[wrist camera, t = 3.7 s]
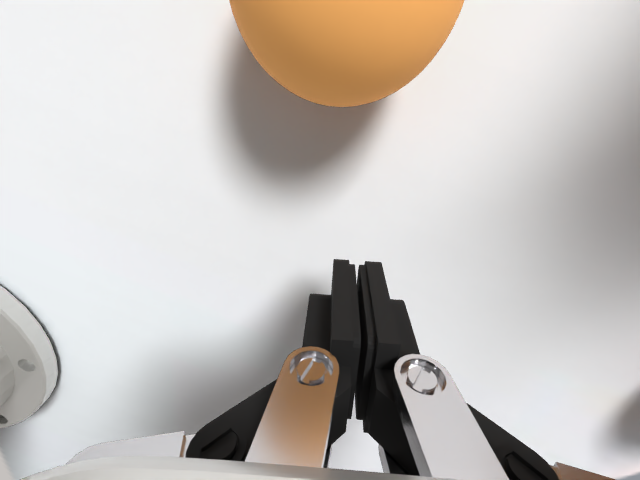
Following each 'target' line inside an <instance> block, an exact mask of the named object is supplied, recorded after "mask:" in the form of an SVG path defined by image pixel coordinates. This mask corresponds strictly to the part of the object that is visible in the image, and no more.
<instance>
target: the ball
mask: <svg viewBox="0 0 640 480" xmlns="http://www.w3.org/2000/svg"><path fill="white" fill-rule="evenodd" d="M229 1H230V5H231V8H232V12H233V15H234V18H235V20H236V23H237V26H238V28H239V31H240V33H241V35H242V37H243V39H244V41H245V43H246V45H247V46H248V48H249V50H250V51H251V53H252V54H253V56H254V57H255V59H256V60H257V61H258V63H259V64H260V65H261V66H262V67H263V69H264V70H265V71H266V72H267V73H268V74H269V75H270V76H271V77H272V78H273V79H274V80H275V81H276V82H278V83H279V84H280V85H282V86H283V87H284V88H286V89H287V90H288V91H290V92H291V93H293V94H295V95H297V96H299V97H301V98H303V99H305V100H308V101H311V102H313V103H316V104H321V105H325V106H333V107H351V106H358V105H363V104H368V103H371V102H374V101H377V100H380V99H382V98H385V97H387V96H388V95H390V94H392V93H394V92H396V91H398V90H399V89H401V88H402V87H404V86H405V85H406V84H408V83H409V82H410V81H412V80H413V79H414V78H415V77H416V76H417V75H418V74H419V73H421V72H422V70H423V69H424V68H425V67H426V66H427V65H428V64H429V63H430V62H431V60H432V59H433V58H434V56H435V55H436V54H437V52H438V51H439V49H440V48H441V47H442V45H443V44H444V43H445V41H446V39H447V37H448V36H449V34H450V32H451V30H452V29H453V27H454V25H455V22H456V20H457V18H458V16H459V13H460V11H461V9H462V6H463V3H464V0H229Z"/></svg>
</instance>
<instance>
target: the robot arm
mask: <svg viewBox="0 0 640 480" xmlns="http://www.w3.org/2000/svg"><path fill="white" fill-rule="evenodd" d="M57 376H58V368H57V359H56V355H55V353H54V350H53V347H52V345H51V342H50V340H49V338H48V336H47V335H46V333H45V332H44V330H43V328H42V327H41V325H40V323H39V322H38V321H37V320H36V319H35V318H34V316H33V315H32V314H31V313H30V312H29V311H28V309H27V308H26V307H25V306H24V305H23V304H22V303H21V302H20V301H18V300H17V299H16V298H15V297H14V296H13V295H12V294H11V293H9V292H8V291H7V290H6V289H5V288H3V287H2V286H0V428H6V427H9V426H12V425H15V424H17V423H20V422H23V421H24V420H26V419H27V418H29V417H30V416H32V415H33V414H34V413H35V412H36V411H37V410H38V409H39V408H40V407H41V406H42V404H43V403H44V402H45V401H46V400H47V399H48V398H49V397H50V395H51V393H52V391H53V390H54V388H55V386H56V381H57ZM354 393H355V406H356V419H358V420H363V430H364V432H365V433H369V435H370V436H371V437H372V438H373V439H374V440H376V441H377V442H378V443H379V446H378V448H379V456H380V460H381V464H382V468H383V472H384V473H378V472H366V471H354V470H342V469H331V468H329V462H330V456H331V449H332V444H333V443H334V442H335V441H336V440H337V439H338V438H339V437H340V436H341V435H343V434H344V433H345V432H346V424H347V419H351V416H352V408H353V401H354ZM20 480H615V479H612V478H609V477H605V476H602V475H599V474H595V473H592V472H589V471H585V470H582V469H579V468H575V467H572V466H568V465H565V464H562V463H558V462H556V463H555V464H554V466H551V465H549V464H548V463H547V462H546V461H545V460H544V459H543V458H542V457H541V456H539V455H538V454H537V453H536V452H535V451H533V450H532V449H530V448H529V447H528V446H526V445H525V444H523V443H522V442H521V441H519V440H518V439H516V438H515V437H514V436H512V435H511V434H509V433H508V432H507V431H505V430H504V429H502V428H501V427H500V426H498V425H497V424H495V423H494V422H493V421H491V420H490V419H488V418H487V417H485V416H484V415H483V414H481V413H480V412H478V411H477V410H476V409H474V408H473V407H471V406H470V405H469V404H467V403H466V402H465V400H464V398H463V397H462V395H461V393H460V391H459V389H458V388H457V386H456V384H455V382H454V381H453V379H452V377H451V375H450V374H449V372H448V371H447V370H446V368H445V367H444V366H443V365H441V364H440V363H439V362H438V361H436V360H434V359H432V358H430V357H427V356H424V355H420V353H419V349H418V346H417V343H416V339H415V336H414V333H413V329H412V326H411V323H410V319H409V316H408V313H407V309H406V306H405V303H404V301H403V300H393V299H390V297H389V293H388V288H387V284H386V280H385V276H384V272H383V267H382V263H381V262H369V261H365V265H359V269H358V278H357V284H356V273H355V265H354V264H349V260H338V259H334V263H333V277H332V290H331V295H321V294H310V296H309V303H308V310H307V317H306V324H305V331H304V339H303V346H302V348H299V349H297V350H295V351H293V352H292V353H291V354H289V355H288V357H287V358H286V360H285V361H284V364H283V366H282V369H281V371H280V374H279V376H278V379H276V380H275V381H273V382H272V383H270V384H269V385H267V386H266V387H264V388H262V389H261V390H259V391H258V392H256V393H255V394H253V395H252V396H250V397H248V398H247V399H245V400H244V401H242V402H241V403H239V404H238V405H236V406H234V407H233V408H231V409H230V410H228V411H227V412H225V413H224V414H222V415H221V416H219V417H217V418H216V419H214V420H213V421H211V422H210V423H208V424H207V425H205V426H204V427H203V428H202V429H200V430H199V431H198V432H197V433H196V434H191V435H185V432H184V431H180V432H173V433H166V434H159V435H153V436H146V437H139V438H132V439H125V440H119V441H112V442H105V443H100V444H97V445H93V446H90V447H88V448H86V449H84V450H83V451H81V452H79V453H78V454H76V455H75V456H74V457H73V458H72V459H71V460H70V461H69V462H67V463H66V464H65V465H63V466H59V467H55V468H52V469H49V470H45V471H42V472H39V473H36V474H33V475H30V476H28V477H25V478H23V479H20Z"/></svg>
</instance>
